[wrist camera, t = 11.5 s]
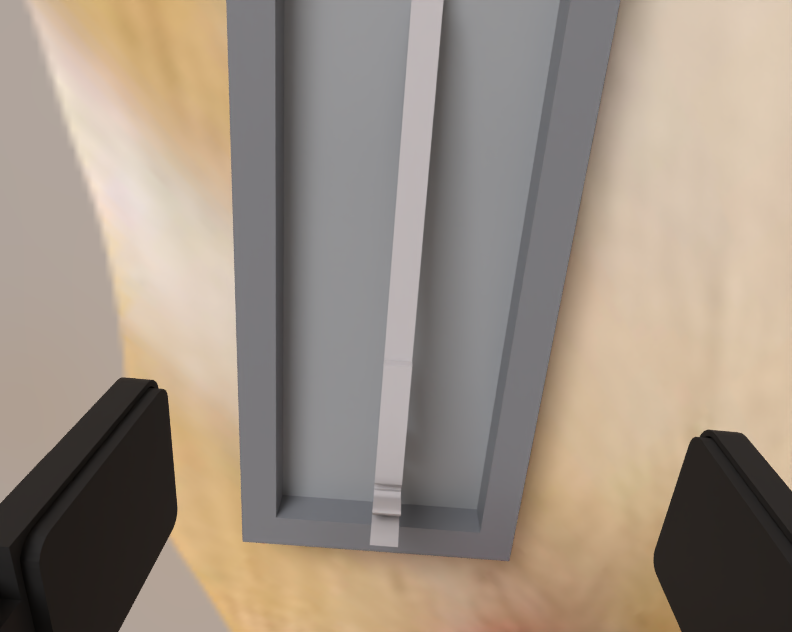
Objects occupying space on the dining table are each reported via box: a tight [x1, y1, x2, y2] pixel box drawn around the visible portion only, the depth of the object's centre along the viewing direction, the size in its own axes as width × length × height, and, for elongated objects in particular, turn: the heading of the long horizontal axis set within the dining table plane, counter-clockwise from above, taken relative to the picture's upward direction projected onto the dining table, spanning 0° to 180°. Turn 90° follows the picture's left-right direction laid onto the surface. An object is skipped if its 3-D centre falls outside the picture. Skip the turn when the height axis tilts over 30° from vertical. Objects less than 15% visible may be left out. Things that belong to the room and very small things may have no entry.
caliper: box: [370, 0, 444, 547], centre depth 20 cm, size 20×1×6 cm, turn 176°
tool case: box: [226, 0, 620, 561], centre depth 23 cm, size 12×27×2 cm, turn 176°
